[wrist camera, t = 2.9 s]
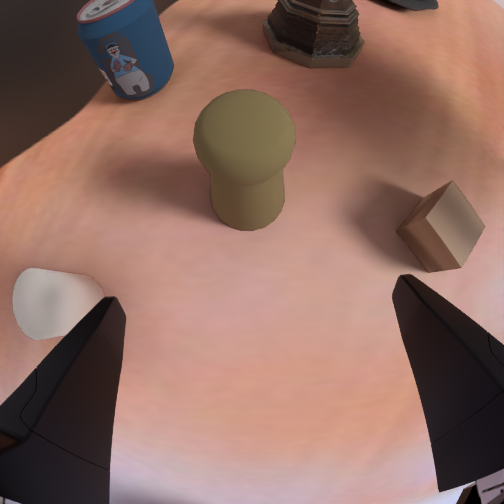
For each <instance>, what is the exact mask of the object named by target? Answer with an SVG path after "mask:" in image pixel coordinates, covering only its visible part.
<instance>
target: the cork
mask: <svg viewBox="0 0 504 504" xmlns="http://www.w3.org/2000/svg"><path fill="white" fill-rule="evenodd" d="M193 143H194V147H195V150H196V154H197V157H198V159H199V160H200V162H201V163H202V165H203V166H204V167H205V169H206V170H207V171H208V172H210V193H211V203H212V206H213V210H214V212H215V213H216V215H217V216H218V217H219V219H220V220H221V221H222V222H224V223H225V224H226V225H228V226H229V227H232V228H235V229H238V230H241V231H254V230H257V229H261V228H264V227H266V226H267V225H269V224H270V223H272V222H273V221H274V220H275V219H276V218H277V216H278V215H279V214H280V212H281V210H282V207H283V204H284V201H285V196H284V178H283V168H284V167H285V165H286V164H287V163H288V162H289V160H290V158H291V155H292V152H293V149H294V146H295V143H296V137H295V126H294V122H293V120H292V118H291V116H290V114H289V112H288V110H287V109H286V108H285V107H284V106H283V105H282V104H281V103H280V102H279V101H278V100H276V99H275V98H273V97H271V96H270V95H268V94H266V93H263V92H259V91H255V90H235V91H231V92H227V93H224V94H222V95H220V96H218V97H217V98H215V99H213V100H212V101H211V102H210V103H209V104H208V105H207V106H206V107H205V108H204V109H203V110H202V111H201V113H200V115H199V117H198V119H197V121H196V122H195V129H194V137H193Z"/></svg>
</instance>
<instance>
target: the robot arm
mask: <svg viewBox="0 0 504 504" xmlns="http://www.w3.org/2000/svg"><path fill="white" fill-rule="evenodd" d="M392 300H393V304H394V308H395V312H396V316H397V320H398V324H399V328H400V332H401V336H402V340H403V343H404V346H405V349H406V352H407V355H408V358H409V361H410V365H411V368H412V371H413V374H414V378H415V381H416V385H417V388H418V392H419V395H420V399H421V403H422V407H423V411H424V415H425V419H426V423H427V428H428V432H429V437H430V442H431V443H432V444H431V447H432V453H433V458H434V464H435V470H436V476H437V483H438V490H439V492H443V491H446V490H450V489H453V488H456V487H459V486H462V485H465V484H468V483H471V482H473V481H475V482H474V483H473V484H471V485H469V486H468V487H466V488H464V489H463V491H462V493H461V495H460V497H459V499H458V501H457V503H456V504H504V345H503V344H502V343H501V342H500V341H498V340H497V339H496V338H495V337H493V336H492V335H491V334H490V333H489V332H487V331H486V330H485V329H484V328H482V327H481V326H480V325H479V324H477V323H476V322H475V321H474V320H472V319H471V318H470V317H468V316H467V315H466V314H465V313H463V312H462V311H461V310H459V309H458V308H457V307H456V306H454V305H453V304H452V303H450V302H449V301H448V300H446V299H445V298H444V297H442V296H441V295H439V294H438V293H437V292H435V291H434V290H433V289H431V288H430V287H428V286H427V285H426V284H424V283H423V282H421V281H420V280H419V279H417V278H416V277H414V276H413V275H411V274H405V275H400V276H399V277H398V279H397V282H396V285H395V288H394V290H393V293H392ZM125 325H126V315H125V312H124V311H123V309H122V307H121V305H120V303H119V301H118V299H117V298H116V297H114V296H112V297H104V298H102V299H101V300H100V301H99V302H98V303H97V304H96V305H95V306H94V307H93V308H92V309H91V310H90V311H89V312H88V313H87V314H86V315H85V316H84V317H83V318H82V319H81V320H80V321H79V322H78V323H77V324H76V325H75V326H74V327H73V328H72V329H71V330H70V331H69V333H68V334H67V335H66V336H65V337H64V338H63V339H62V340H61V341H60V342H59V343H58V344H57V345H56V346H55V347H54V348H53V349H52V351H51V352H50V353H49V354H48V355H47V356H46V357H45V358H44V359H43V360H42V362H41V363H40V364H39V365H38V366H37V368H35V369H34V370H33V372H32V373H31V374H30V375H29V376H28V377H27V378H26V379H25V381H24V382H23V383H22V384H21V385H20V386H19V387H18V388H17V389H16V390H15V391H14V392H13V393H12V394H11V395H10V396H9V397H8V398H7V399H6V400H5V401H4V402H3V403H2V404H1V405H0V504H109V489H110V461H111V446H112V435H113V425H114V416H115V407H116V400H117V393H118V386H119V379H120V373H121V367H122V360H123V348H124V336H125Z"/></svg>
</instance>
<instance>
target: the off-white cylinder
mask: <svg viewBox="0 0 504 504" xmlns="http://www.w3.org/2000/svg"><path fill="white" fill-rule="evenodd" d="M104 297H105V295H104V292H103V290H102V288H101V286H100V284H99V283H98V282H97V281H96V280H95V279H94V278H92V277H90V276H87V275H81V274H74V273H66V272H59V271H52V270H45V269H39V268H28V269H26V270H25V271H23V272H22V273H21V274H20V276H19V277H18V279H17V281H16V283H15V286H14V290H13V300H12V301H13V311H14V315H15V318H16V321H17V323H18V325H19V327H20V329H21V330H22V331H23V333H24V334H25V335H27V336H28V337H29V338H31V339H34V340H43V339H48V338H53V337H59V336H64V335H67V334H68V333H69V331H70V330H71V329H72V328H73V327H74V326H75V325H76V324H77V323H78V322H79V321H80V320H81V319H82V318H83V317H84V316H85V315H86V314H87V313H88V312H89V311H90V310H91V309H92V308H93V307H94V306H95V305H96V304H97V303H98V302H99V301H100V300H101V299H102V298H104Z"/></svg>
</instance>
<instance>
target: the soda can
mask: <svg viewBox="0 0 504 504" xmlns="http://www.w3.org/2000/svg"><path fill="white" fill-rule="evenodd" d="M77 20H78V22H79V25H78V36H79V38H80V39H81V41H82V42H83V44H84V45H85V47H86V49H87V50H88V52H89V53H90V55H91V57H92V58H93V60H94V61H95V63H96V65H97V66H98V68H99V69H100V71H101V72H102V74H103V76H104V77H105V79H106V80H107V82H108V83H109V85H110V86H111V88H112V90H113V91H114V93H115V94H116V95H118V96H120V97H122V98H125V99H130V100H142V99H146V98H149V97H151V96H153V95H155V94H157V93H158V92H159V91H161V90H162V89H163V88H164V87H165V86H166V84H167V83H168V81H169V79H170V77H171V75H172V72H173V68H174V63H173V60H172V57H171V54H170V51H169V48H168V45H167V42H166V38H165V35H164V32H163V29H162V26H161V23H160V20H159V17H158V14H157V11H156V8H155V5H154V2H153V0H91V1H89V2H88V3H87V4H86V5H85V6H83V8H82V9H81V10H80V11H79V13H78V14H77Z"/></svg>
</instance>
